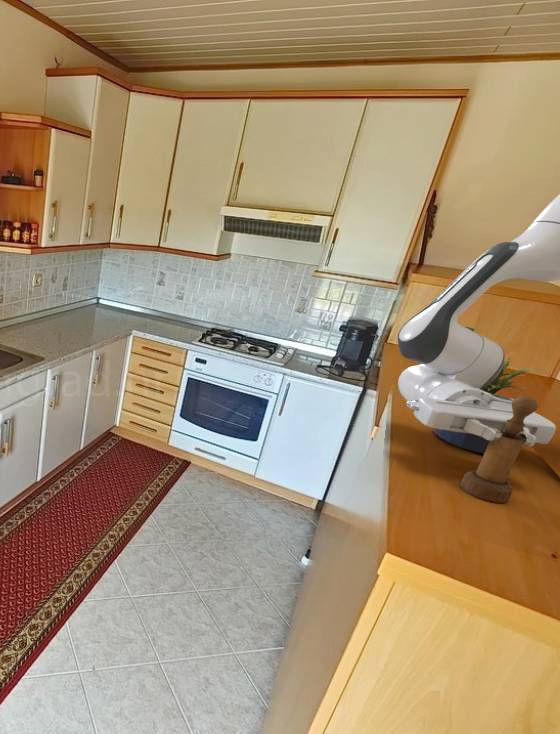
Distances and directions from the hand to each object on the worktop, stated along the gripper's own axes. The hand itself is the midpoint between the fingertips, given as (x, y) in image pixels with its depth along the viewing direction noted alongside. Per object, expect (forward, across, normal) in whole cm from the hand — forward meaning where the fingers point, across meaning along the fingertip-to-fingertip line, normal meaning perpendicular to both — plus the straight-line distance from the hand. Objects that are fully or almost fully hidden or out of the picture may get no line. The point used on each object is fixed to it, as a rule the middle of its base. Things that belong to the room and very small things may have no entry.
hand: (513, 439), depth 80 cm
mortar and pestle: (-1, 0, +11) cm, 11 cm away
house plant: (-43, +26, +11) cm, 51 cm away
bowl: (-25, +13, +11) cm, 30 cm away
